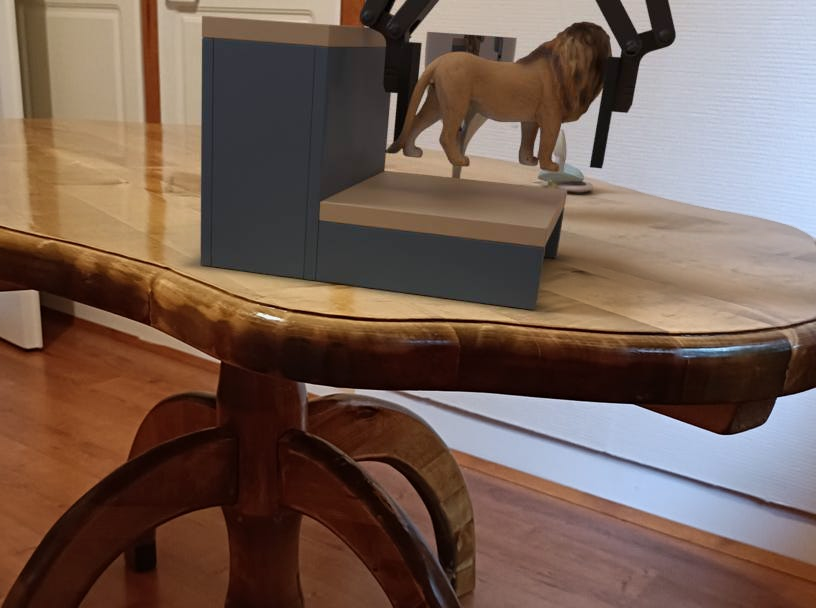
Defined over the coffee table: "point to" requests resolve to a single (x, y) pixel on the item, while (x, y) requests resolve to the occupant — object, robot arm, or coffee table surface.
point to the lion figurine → (511, 93)
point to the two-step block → (347, 176)
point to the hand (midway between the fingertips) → (497, 156)
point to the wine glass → (476, 45)
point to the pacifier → (564, 171)
